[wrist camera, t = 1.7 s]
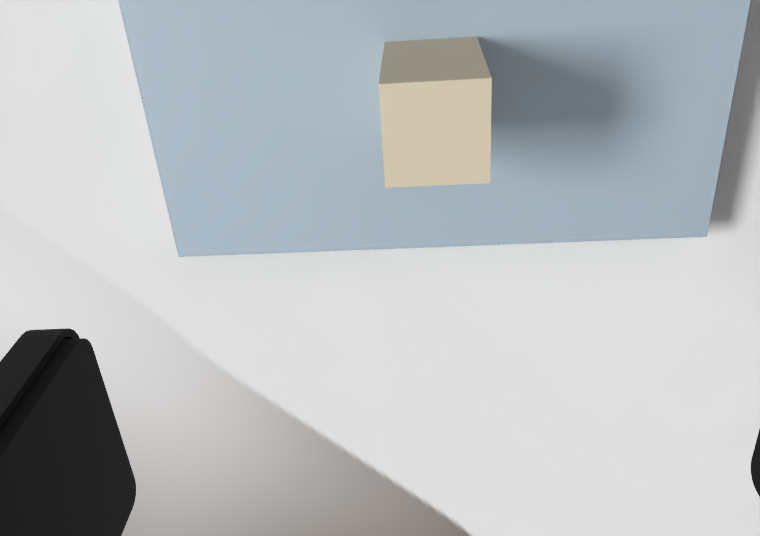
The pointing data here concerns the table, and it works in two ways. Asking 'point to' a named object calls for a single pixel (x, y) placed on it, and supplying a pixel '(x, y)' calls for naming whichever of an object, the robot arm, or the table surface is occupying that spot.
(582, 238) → the door
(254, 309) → the table surface
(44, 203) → the table surface
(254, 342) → the table surface
